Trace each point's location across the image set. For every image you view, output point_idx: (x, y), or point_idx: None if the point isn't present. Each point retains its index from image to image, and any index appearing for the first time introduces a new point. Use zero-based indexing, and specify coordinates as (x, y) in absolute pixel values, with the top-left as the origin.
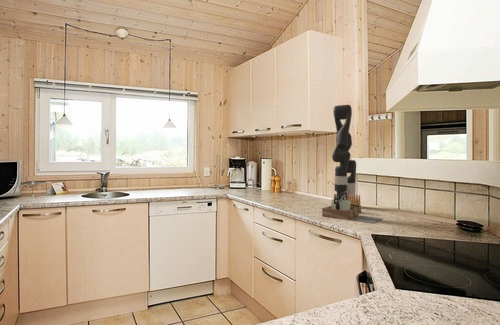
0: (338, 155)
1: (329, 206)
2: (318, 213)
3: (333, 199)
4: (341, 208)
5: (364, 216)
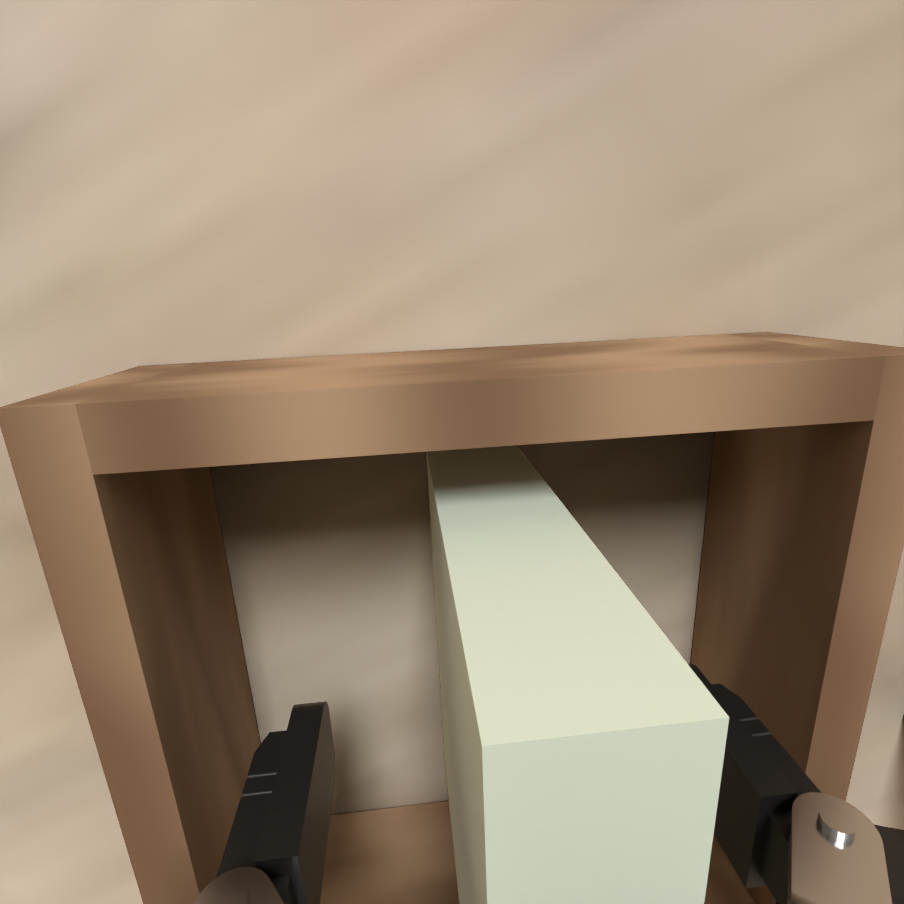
0: None
1: (509, 425)
2: (403, 81)
3: (482, 843)
4: (454, 796)
5: None
